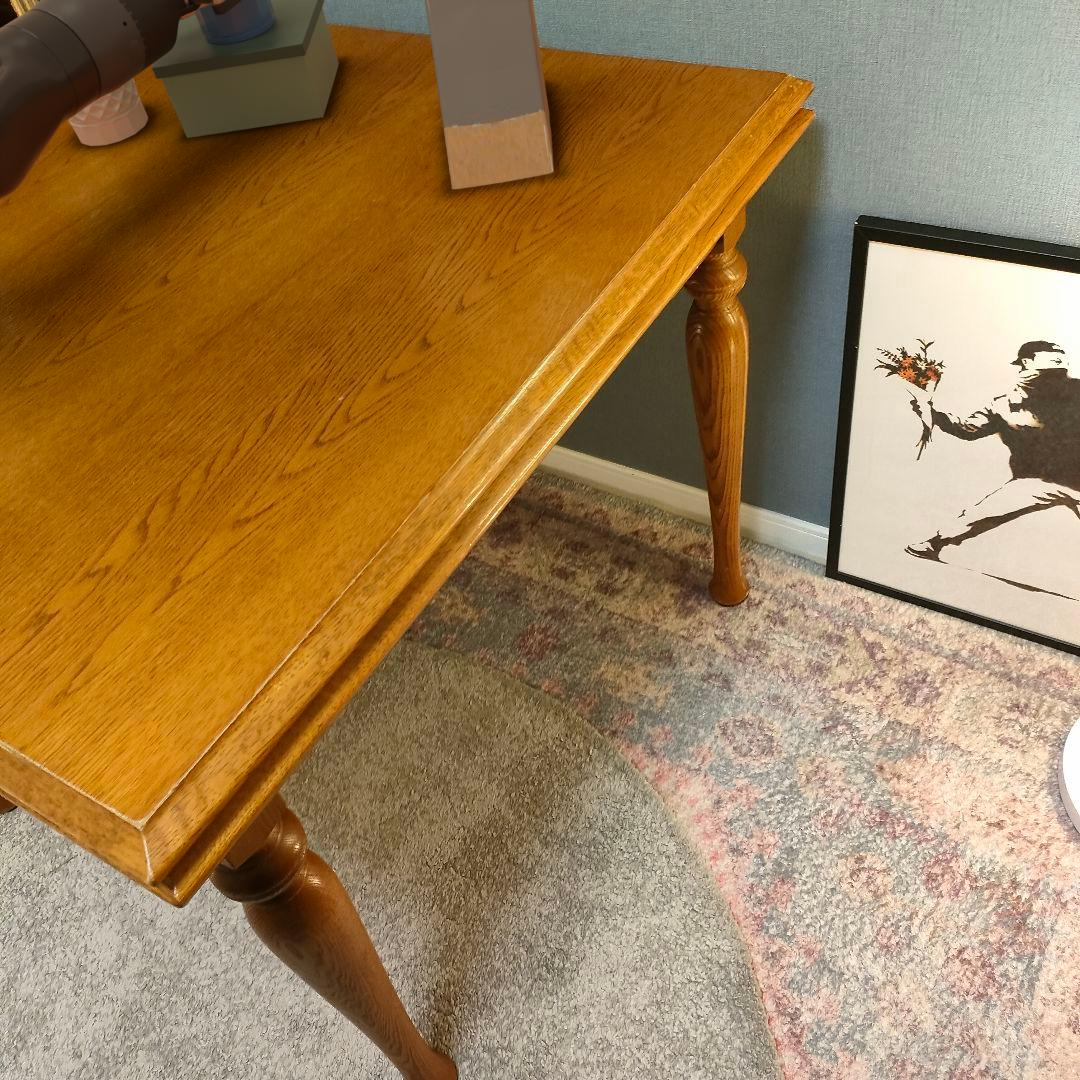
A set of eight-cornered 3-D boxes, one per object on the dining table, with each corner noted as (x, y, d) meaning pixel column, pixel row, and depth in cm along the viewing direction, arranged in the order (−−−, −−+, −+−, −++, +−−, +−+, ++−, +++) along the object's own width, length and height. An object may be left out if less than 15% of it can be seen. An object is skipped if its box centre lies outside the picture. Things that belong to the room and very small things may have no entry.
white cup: (94, 161, 93) (38, 51, 85) (62, 138, 97) (6, 32, 90) (169, 124, 95) (120, 15, 88) (134, 103, 100) (85, -2, 92)
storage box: (184, 144, 92) (151, 67, 87) (211, 86, 100) (182, 13, 95) (327, 122, 91) (301, 43, 85) (343, 65, 98) (321, -10, 93)
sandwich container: (449, 197, 79) (400, -4, 67) (451, 107, 89) (409, -81, 78) (557, 179, 78) (526, -27, 67) (546, 90, 88) (518, -102, 77)
